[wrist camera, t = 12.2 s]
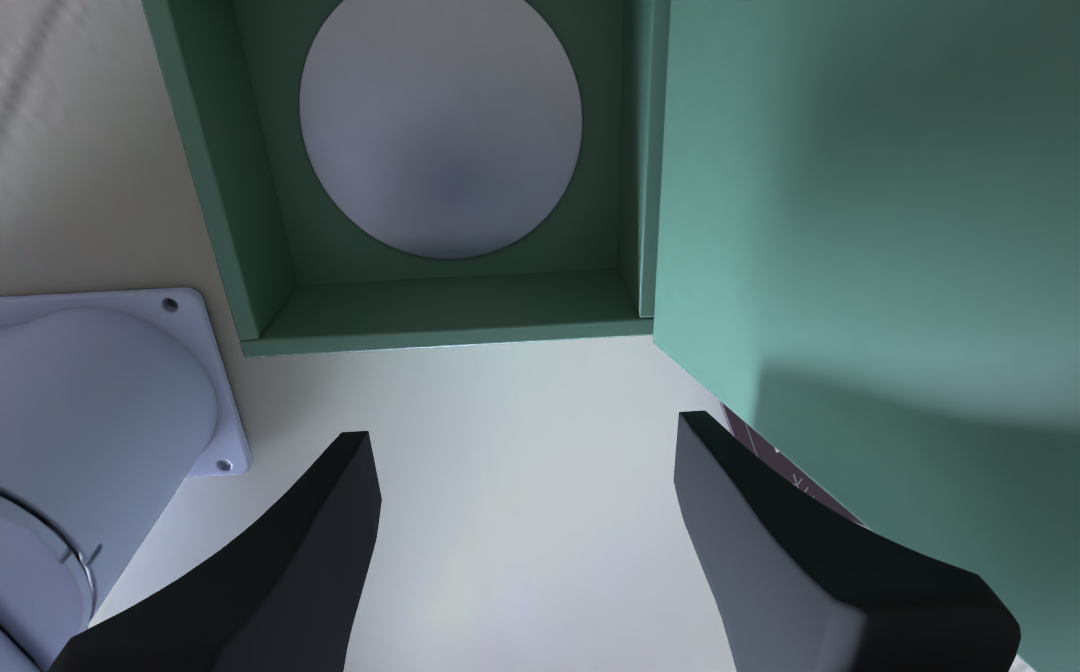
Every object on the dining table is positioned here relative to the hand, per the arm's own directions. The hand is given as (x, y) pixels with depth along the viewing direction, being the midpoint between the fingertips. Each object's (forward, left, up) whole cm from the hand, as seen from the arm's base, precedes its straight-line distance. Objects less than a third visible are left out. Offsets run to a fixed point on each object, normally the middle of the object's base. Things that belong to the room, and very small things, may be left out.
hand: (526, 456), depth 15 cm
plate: (-2, +6, -9) cm, 11 cm away
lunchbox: (-2, +6, -9) cm, 11 cm away
